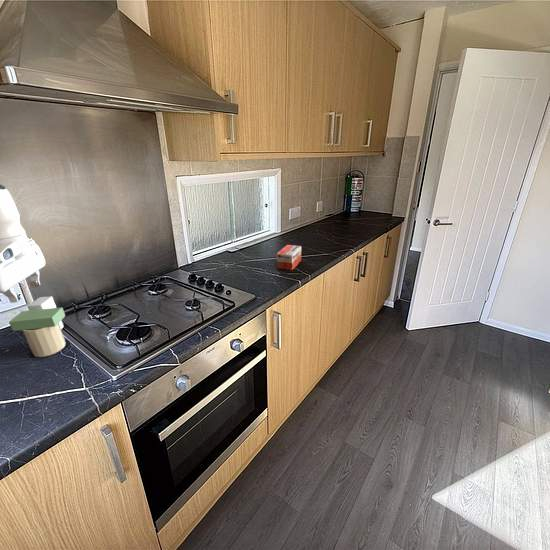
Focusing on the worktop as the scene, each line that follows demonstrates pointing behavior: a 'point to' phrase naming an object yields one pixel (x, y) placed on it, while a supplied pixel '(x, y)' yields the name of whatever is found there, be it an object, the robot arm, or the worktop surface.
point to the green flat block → (37, 319)
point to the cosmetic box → (43, 305)
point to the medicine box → (289, 257)
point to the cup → (45, 340)
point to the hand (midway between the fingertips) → (26, 293)
